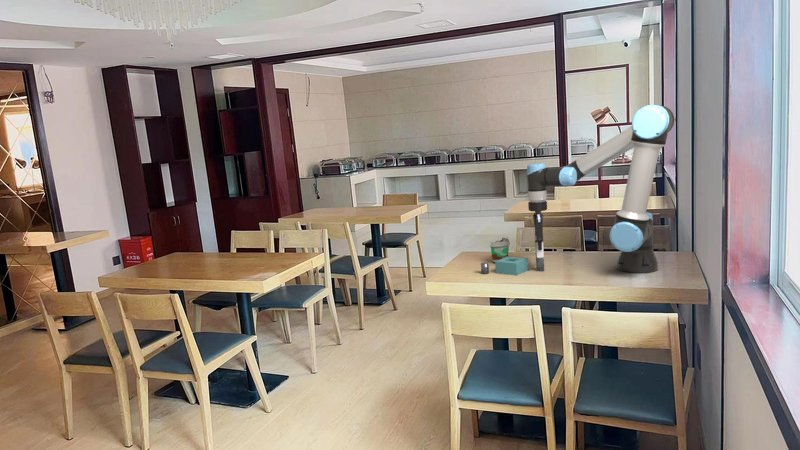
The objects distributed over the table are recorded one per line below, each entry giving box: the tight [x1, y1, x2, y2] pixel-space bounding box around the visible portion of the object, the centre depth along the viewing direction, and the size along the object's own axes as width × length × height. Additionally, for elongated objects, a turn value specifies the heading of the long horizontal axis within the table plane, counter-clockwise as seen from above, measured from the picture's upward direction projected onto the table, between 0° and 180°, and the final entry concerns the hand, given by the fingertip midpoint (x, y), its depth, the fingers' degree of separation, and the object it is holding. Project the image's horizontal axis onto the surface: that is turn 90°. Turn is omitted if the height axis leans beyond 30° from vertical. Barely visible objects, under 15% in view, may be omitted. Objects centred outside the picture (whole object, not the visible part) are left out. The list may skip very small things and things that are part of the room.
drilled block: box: [494, 256, 530, 276], centre depth 236 cm, size 10×10×5 cm
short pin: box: [480, 261, 490, 275], centre depth 237 cm, size 3×3×4 cm
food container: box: [489, 237, 511, 264], centre depth 255 cm, size 12×6×10 cm, turn 143°
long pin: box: [534, 234, 545, 272], centre depth 233 cm, size 3×3×15 cm
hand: (539, 255), depth 233 cm, fingers open, 7 cm apart
